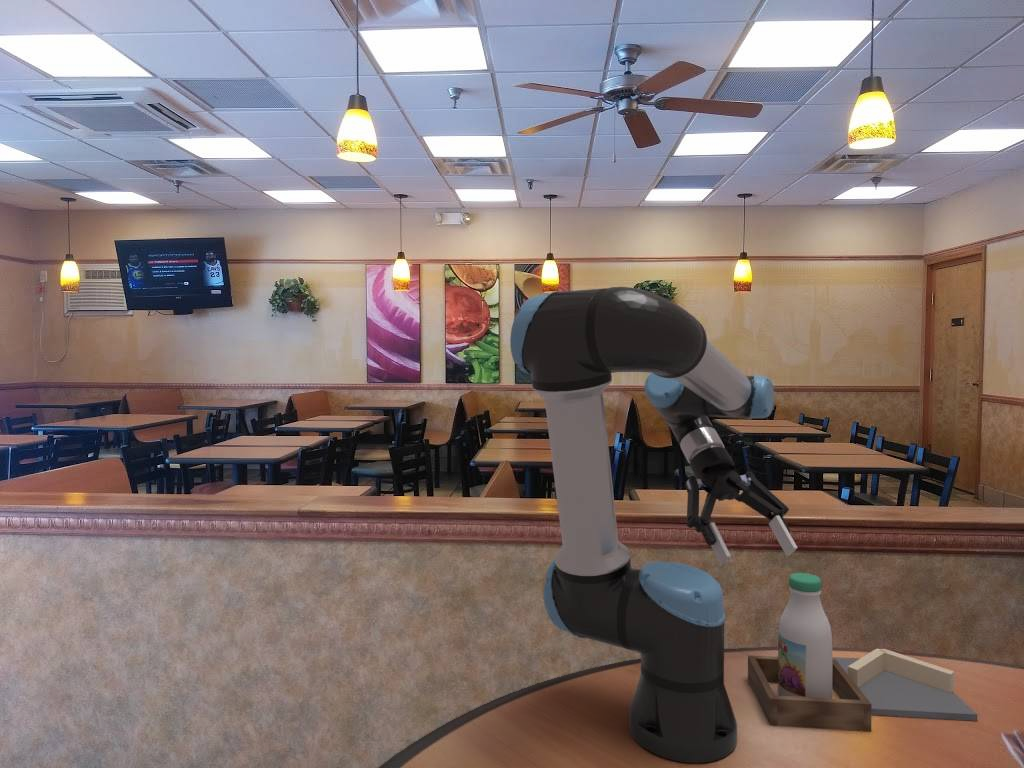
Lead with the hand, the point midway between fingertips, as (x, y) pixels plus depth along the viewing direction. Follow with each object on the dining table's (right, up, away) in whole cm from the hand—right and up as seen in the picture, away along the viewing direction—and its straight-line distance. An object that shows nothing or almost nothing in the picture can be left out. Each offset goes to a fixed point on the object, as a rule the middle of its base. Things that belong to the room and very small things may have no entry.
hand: (759, 556), depth 110 cm
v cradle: (+20, -20, -6) cm, 29 cm away
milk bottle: (+3, -21, -10) cm, 23 cm away
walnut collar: (+3, -20, -10) cm, 23 cm away
